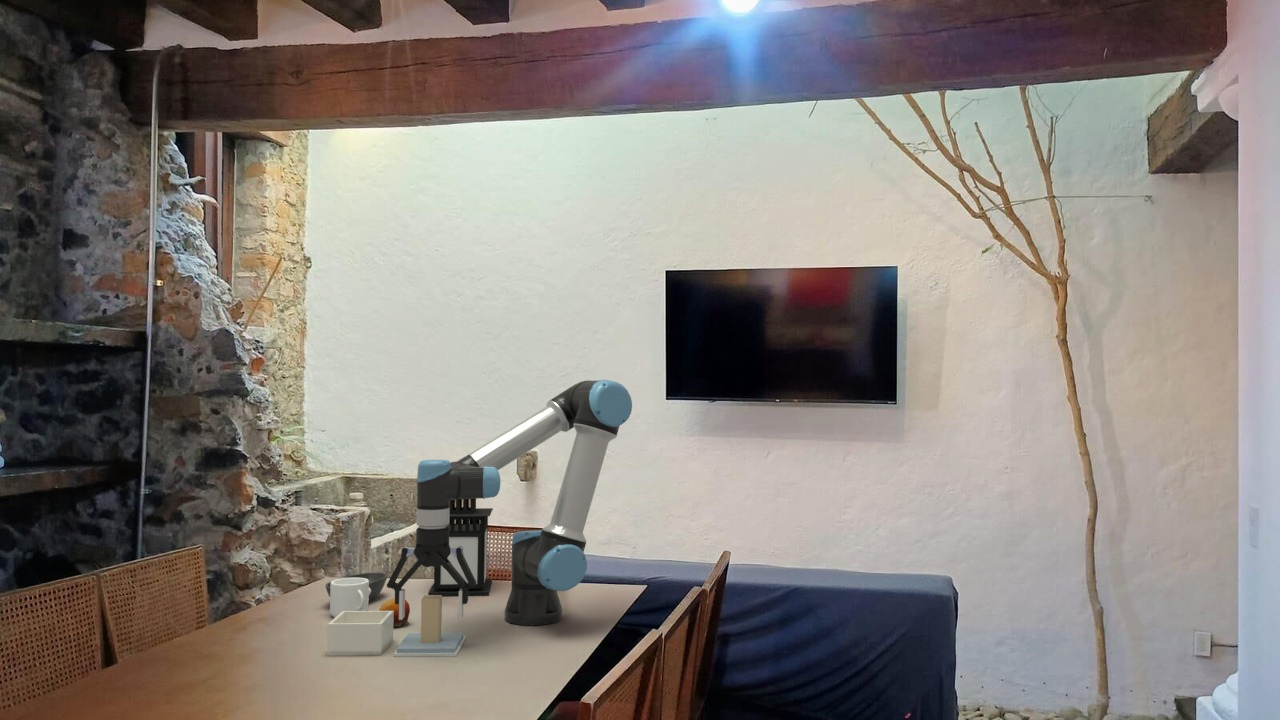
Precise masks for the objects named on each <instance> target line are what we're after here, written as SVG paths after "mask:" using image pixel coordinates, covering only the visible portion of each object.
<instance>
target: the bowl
mask: <svg viewBox="0 0 1280 720" xmlns="http://www.w3.org/2000/svg"><path fill="white" fill-rule="evenodd" d="M341 578H365V579H368V580H369V588H370V589H371V593H370V595H369V601H368V604H370V603H372V602H373V601H375V600H376V599H377V598H378V597H379V595H380V593H382V590H383V588H384V586H385V584H386V582H387V579H388V574H387V573H386V572H365V573H364V572H362V573H357V574H352V575H348V576H342V577H340V578H338V579H341ZM330 584H331V581H329V582H327V583H326V584H325V589H326V593H327V594H328V596H329V598H330Z"/></svg>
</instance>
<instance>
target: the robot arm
mask: <svg viewBox="0 0 1280 720" xmlns="http://www.w3.org/2000/svg"><path fill="white" fill-rule="evenodd" d="M632 408H633V400H632V397H631V395H630V392H629V391H628V389H627V388H626V387H625V386H624V385H623V384H621V383H620V382H617V381H613V380H609V379H600V380H584V381H579V382H577V383H575V384H573V385H571V386H570V387H568V388H567V389H566V390H563V391H562V392H561V393H559V394H558V395H556V396H554V397H553V398H551V399H550V400H548V401H547V402H546V406H545V407H543V408H542V409H541V410H539V411H537V412H536V413H533V414H532V415H531V416H528V418H526V419H524V420H523V421H521V422H519V423H517V424H516V425H514V426H512V427H511V428H510V429H508V430H506V431H505V432H503V433H501V434H499V435H498V436H496V437H495V438H493V439H492V440H490V441H488V442H486V443H485V444H484V445H482V446H480V447H478V448H476V449H475V450H473V451H472V452H471V453H469V454H467V455H465V456H464V457H462V458H460V459H459V460H457V461H452V462H451V461H450V460H448V459H423V460H421V461H419V462H418V465H417V466H418V467H417V473H416V476H417V478H416V496H417V497H416V526H417V528H416V534H415V535H416V536H415V547H409V546H406V545H405V546H404V547H403V548H402V549H401V555H400V558H399V560H398V562H397V564H396V566H395V568H394V570H393V571H392V574H391V576H390V578H389V580H388V582H387V584H386V588H387V589H392V590H394V598H395V604H399V620H402V619H403V618H404V617H405V600H406V588H403V586H404V585H405V584H406V583H407V582H408V580H410V579H411V577H412V576H413V575H414V574H415V573H416V571H417V570H418V569H419V568H420V567H421V566H422V567H424V568H429V567H433V568H434V567H439V566H441V565H442V566H443V568H444V569H446V570H447V572H448V573H449V574H450V575H451V576H452V578H453V579H454V580H455V581H456V582H457V584H458V585H459V586H460V587H461V588H462V589H460V590H459V597H458V606H457V607H458V608H457V609H458V612H457V613H458V614H457V615H458V618H457V619H458V620H463V618H464V605H467V604H468V601H469V596H468V589H470V588H474V587H475V585H476V580H475V578H474V576H473V574H472V572H471V570H470V568H469V566H468V564H467V562H466V560H465V558H464V556H463V548H462V547H461V546H459V547H458V548H450V546H449V528H448V527H447V525H448V524H449V516H450V500H455V501H456V499H462V500H463V499H469V500H470V499H476V500H477V499H483V500H485V499H489V498H494V497H497V496H498V495H499V493H500V490H501V475H500V472H499V470H501V469H503V468H504V467H506V466H507V465H509V464H511V463H513V461H516V460H517V459H518V458H520V457H522V456H523V455H525V454H526V453H528V452H530V451H531V450H533V449H535V448H536V447H538V446H540V445H541V444H542V443H545V442H546V441H547V440H549V439H550V438H552V437H554V436H556V435H558V433H560V432H565V433H567V432H569V431H570V430H572V429H575V431H576V433H575V438H574V441H573V446H572V447H571V448H572V449H571V452H570V455H569V458H568V461H567V465H566V469H565V472H564V476H563V479H562V482H561V485H560V489H559V492H558V495H557V499H556V503H555V505H554V509H553V513H552V517H551V519H550V523H548V524H547V525H546V526H544V527H543V528H542V529H535V530H523V531H521V530H520V531H516V532H514V533H513V535H512V542H511V590H510V593H509V596H508V600H507V602H506V605H505V609H504V621H506V622H507V623H511V624H513V625H519V626H522V625H523V626H541V625H543V626H544V625H548V624H550V625H551V624H554V623H556V622H559V621H561V620H562V619H563V607H562V604H561V600H560V597H559V594H558V592H564V591H565V592H567V591H569V590H571V589H573V588H575V587H576V586H578V585H579V584H580V583H581V582H582V580H583V579H584V577H585V575H586V573H587V569H588V560H587V558H586V555H585V553H584V552H585V548H586V544H587V539H586V537H585V535H584V530H585V526H586V522H587V520H588V515H589V512H590V508H591V505H592V501H593V498H594V495H595V493H596V488H597V484H598V481H599V477H600V474H601V470H602V467H603V463H604V460H605V456H606V452H607V449H608V445H609V443H610V442H611V441H612V440H615V439H616V438H617V436H618V433H619V429H620V426H621V425H623V424H624V423H626V422H627V421H628V419H629V418H630V415H631V414H632V410H633V409H632ZM450 553H452V554H453V555H454V557H457V560H458V562H459V564H460V567H461V569H462V571H463V573H464V575H465V577H466V579H467V581H468V583H467V582H466V581H465V580H464V579H463V577H462V576H461V575H460V574H459V573H458V571H457V570H456V569H455V568H454V567H453V565H452V564H451V562H450V561H449V560H448V559H447V558H448V556H449V555H450ZM412 555H414V556H415V558H416V559H417V560H416V562H414V564H413V565H412V566H411V568H410V569H409V570H408V571H407V572H406V573H405V575H403V577H402V578H401V579H400V580H399V582H396V581H397V580H398V578H399V576H400V574H401V571H402V570H403V568H404V566H405V564H406V562H407V561H408V558H410V557H411V556H412Z"/></svg>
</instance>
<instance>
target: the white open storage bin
mask: <svg viewBox="0 0 1280 720" xmlns="http://www.w3.org/2000/svg"><path fill="white" fill-rule="evenodd" d="M393 620H394V611H379V610H368V611H342V612H341V613H340V614H339V615H337V616H336V617H333V619H332V620H330V621H329V622H328V623H327V624H326V625H327V628H326V656H328V657H335V656H339V657H340V656H342V657H344V656H346V657H347V656H350V657H351V656H355V657H358V656H382V655H383V654H384V653H385V651H387V648H389V646H390V645H391V643H392V642H394V627H393Z"/></svg>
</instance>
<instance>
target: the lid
mask: <svg viewBox="0 0 1280 720" xmlns="http://www.w3.org/2000/svg"><path fill="white" fill-rule="evenodd" d="M420 602H421V604H420V605H421V606H420V608H421V609H420V610H421V613H420V632H408V633H407V635H405V637H404V638H403V640H402V641H401V642H400V643H399V645H398V646H397V647H396V650H395V651H396V653H455V652H456V650H457V648H458V646H459V644H460V642H461V640H462V639H463V636H464V632H442V624H443V623H442V620H443V619H442V616H443V611H442V609H443V597H442V595H428V594H425V595H424V596H423V597H422V598H421V601H420Z"/></svg>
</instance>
